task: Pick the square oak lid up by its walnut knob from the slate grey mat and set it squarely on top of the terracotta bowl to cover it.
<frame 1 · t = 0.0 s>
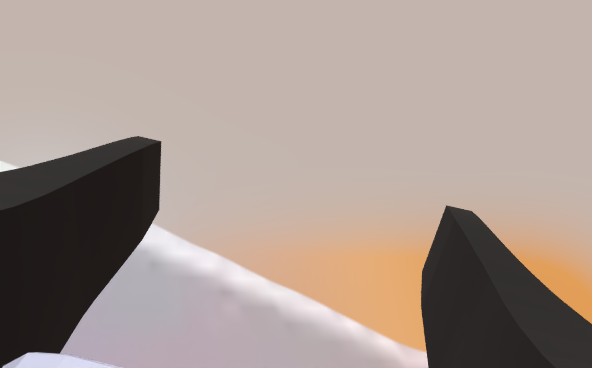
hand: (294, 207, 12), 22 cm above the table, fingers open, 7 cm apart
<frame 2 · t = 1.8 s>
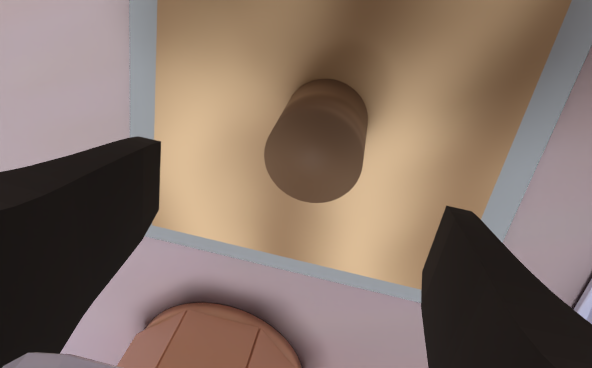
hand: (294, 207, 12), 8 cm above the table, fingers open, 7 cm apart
slate mat: (330, 106, 19), on the table
terracotta bowl: (220, 367, 27), on the table
oak lid: (329, 110, 19), resting on slate mat
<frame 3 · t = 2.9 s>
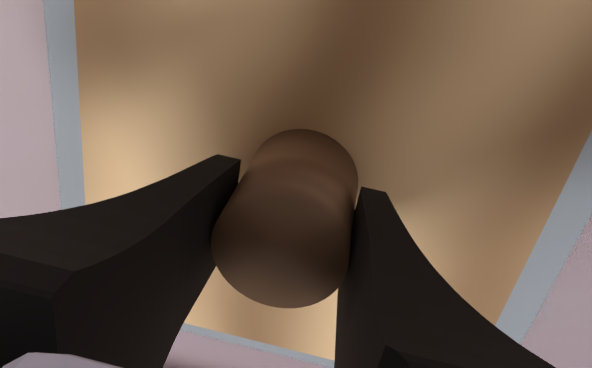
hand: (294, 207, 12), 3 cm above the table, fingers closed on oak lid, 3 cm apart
slate mat: (310, 158, 15), on the table
oak lid: (308, 164, 14), resting on slate mat, touching gripper
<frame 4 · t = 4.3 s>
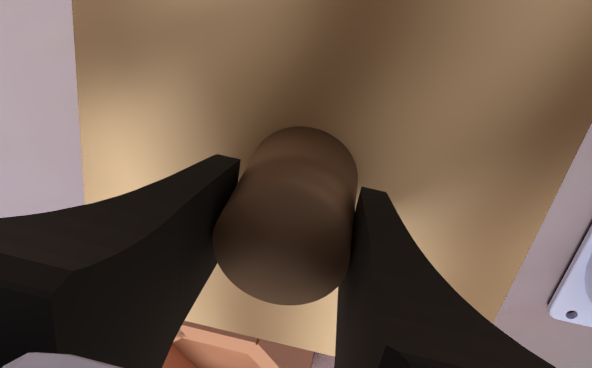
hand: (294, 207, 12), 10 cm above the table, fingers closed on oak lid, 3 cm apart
terracotta bowl: (237, 325, 28), on the table
oak lid: (308, 161, 15), point 7 cm above the table, touching gripper
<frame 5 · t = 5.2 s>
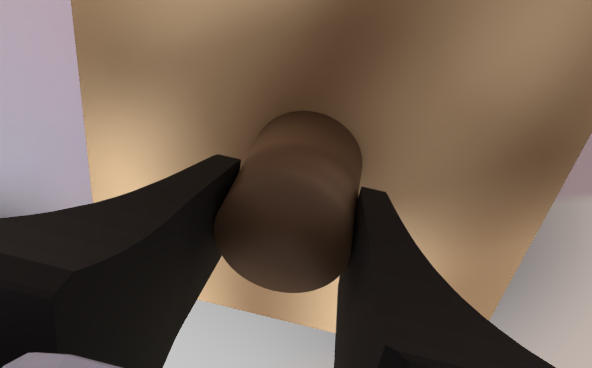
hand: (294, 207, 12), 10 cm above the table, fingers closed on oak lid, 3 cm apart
oak lid: (312, 144, 14), point 7 cm above the table, touching gripper
when the fingers open (8 cm above the table, at t = 5.8 s): oak lid stays where it is, resting on terracotta bowl.
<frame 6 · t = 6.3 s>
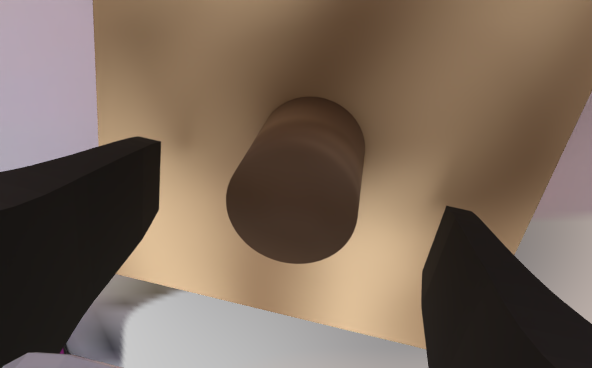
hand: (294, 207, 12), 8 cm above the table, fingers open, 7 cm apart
oak lid: (316, 134, 15), point 5 cm above the table, touching terracotta bowl
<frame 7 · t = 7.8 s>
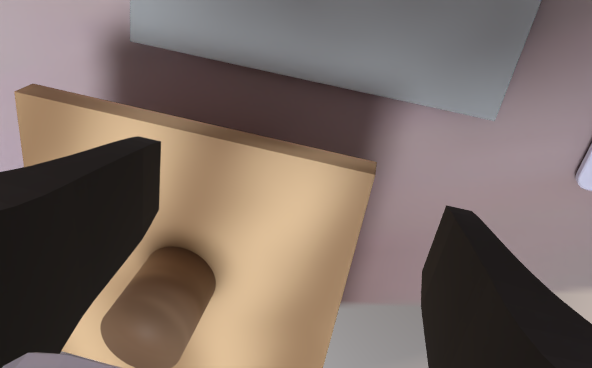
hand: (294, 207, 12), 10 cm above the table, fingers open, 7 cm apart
oak lid: (189, 262, 21), point 5 cm above the table, touching terracotta bowl
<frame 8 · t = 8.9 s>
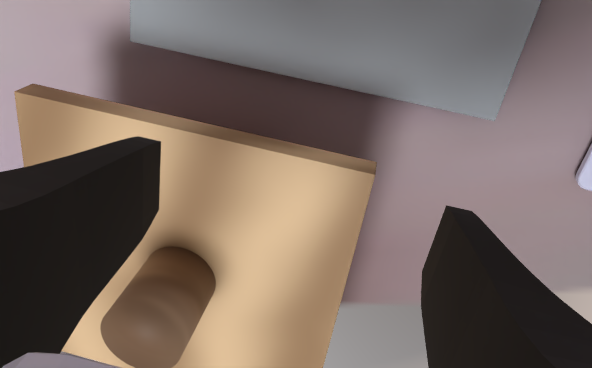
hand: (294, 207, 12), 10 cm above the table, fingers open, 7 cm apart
oak lid: (189, 262, 21), point 5 cm above the table, touching terracotta bowl
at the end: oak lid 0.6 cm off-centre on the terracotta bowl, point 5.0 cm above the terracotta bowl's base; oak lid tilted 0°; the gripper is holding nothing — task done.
